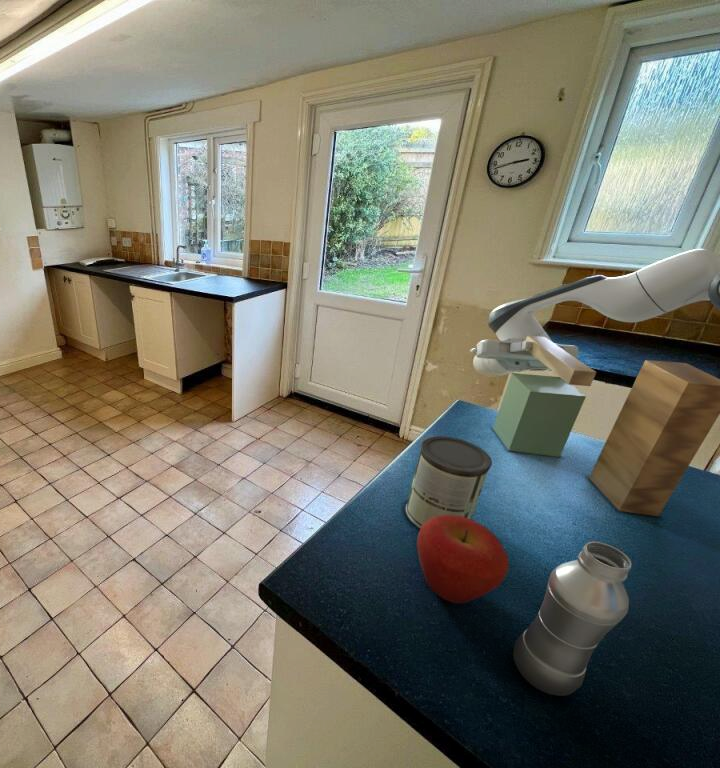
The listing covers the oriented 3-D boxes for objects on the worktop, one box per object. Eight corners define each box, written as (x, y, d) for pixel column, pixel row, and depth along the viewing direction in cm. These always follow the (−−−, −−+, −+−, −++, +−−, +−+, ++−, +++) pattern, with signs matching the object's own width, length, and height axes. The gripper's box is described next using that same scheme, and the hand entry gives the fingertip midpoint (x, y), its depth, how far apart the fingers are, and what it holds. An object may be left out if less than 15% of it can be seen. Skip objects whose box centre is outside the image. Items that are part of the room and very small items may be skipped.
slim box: (540, 348, 97) (544, 336, 96) (590, 386, 79) (596, 372, 78) (523, 347, 98) (527, 335, 97) (568, 384, 80) (574, 370, 79)
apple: (489, 641, 54) (519, 576, 49) (401, 602, 59) (419, 540, 54) (489, 579, 63) (514, 518, 58) (412, 550, 68) (428, 492, 63)
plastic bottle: (495, 657, 52) (550, 539, 44) (534, 641, 54) (595, 525, 46) (546, 712, 47) (621, 590, 38) (588, 693, 49) (669, 572, 40)
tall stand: (623, 482, 83) (686, 363, 72) (658, 516, 75) (736, 386, 64) (588, 477, 85) (645, 359, 74) (618, 511, 76) (688, 382, 65)
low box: (539, 433, 100) (561, 377, 94) (559, 457, 91) (586, 396, 85) (492, 428, 102) (511, 372, 96) (508, 450, 94) (530, 391, 87)
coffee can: (400, 494, 80) (415, 432, 74) (459, 503, 78) (479, 439, 72) (410, 533, 71) (428, 465, 65) (476, 544, 69) (502, 475, 63)
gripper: (468, 340, 110) (491, 328, 96) (557, 346, 105) (595, 335, 92) (466, 363, 109) (489, 355, 96) (555, 371, 105) (593, 363, 91)
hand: (542, 345), depth 94 cm, fingers closed on slim box, 3 cm apart
